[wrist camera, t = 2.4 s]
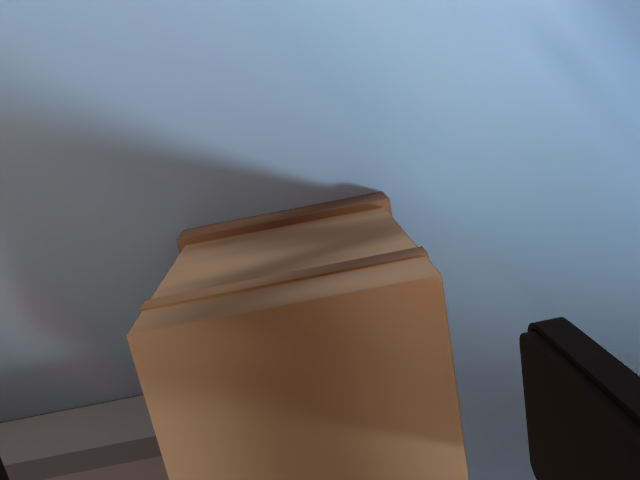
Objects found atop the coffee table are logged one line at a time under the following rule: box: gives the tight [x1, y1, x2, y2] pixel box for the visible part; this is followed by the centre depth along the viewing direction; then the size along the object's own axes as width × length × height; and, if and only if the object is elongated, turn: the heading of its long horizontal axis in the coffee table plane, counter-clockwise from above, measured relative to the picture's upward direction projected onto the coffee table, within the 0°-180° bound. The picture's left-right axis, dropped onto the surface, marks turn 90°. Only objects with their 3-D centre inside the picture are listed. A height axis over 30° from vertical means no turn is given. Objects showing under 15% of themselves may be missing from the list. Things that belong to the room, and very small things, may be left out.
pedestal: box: [126, 192, 469, 480], centre depth 14 cm, size 6×6×7 cm
